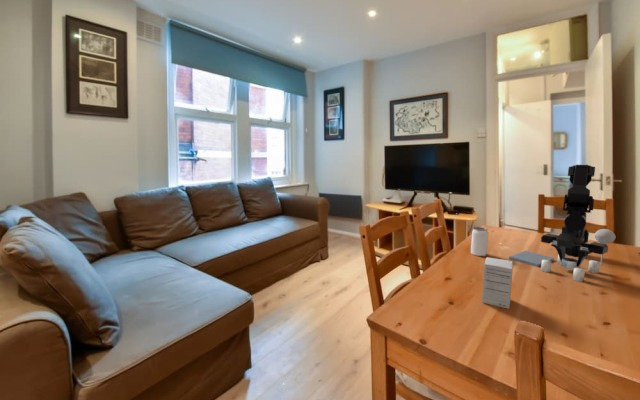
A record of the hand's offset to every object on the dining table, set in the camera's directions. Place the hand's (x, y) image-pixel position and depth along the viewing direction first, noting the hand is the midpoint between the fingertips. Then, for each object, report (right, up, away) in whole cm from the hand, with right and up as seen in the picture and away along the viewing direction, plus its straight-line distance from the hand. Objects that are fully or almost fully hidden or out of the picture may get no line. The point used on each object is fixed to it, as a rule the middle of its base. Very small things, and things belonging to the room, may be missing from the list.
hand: (570, 264), depth 112 cm
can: (-24, 0, +21) cm, 32 cm away
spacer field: (0, -3, 0) cm, 3 cm away
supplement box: (-42, -7, -21) cm, 47 cm away
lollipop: (+18, -2, +6) cm, 19 cm away
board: (-5, -1, +13) cm, 14 cm away
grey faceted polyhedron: (0, -1, 0) cm, 1 cm away
